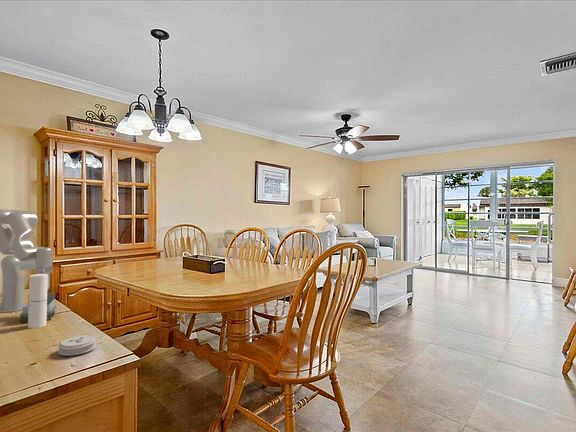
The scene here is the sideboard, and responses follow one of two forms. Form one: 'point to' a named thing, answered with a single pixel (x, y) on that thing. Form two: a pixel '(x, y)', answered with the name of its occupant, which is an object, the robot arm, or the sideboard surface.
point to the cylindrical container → (37, 300)
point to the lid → (77, 345)
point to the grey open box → (50, 307)
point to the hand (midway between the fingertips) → (42, 303)
